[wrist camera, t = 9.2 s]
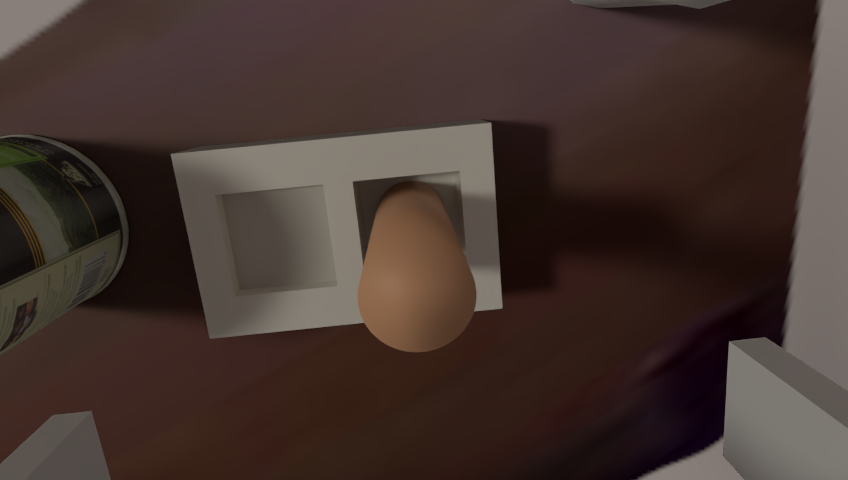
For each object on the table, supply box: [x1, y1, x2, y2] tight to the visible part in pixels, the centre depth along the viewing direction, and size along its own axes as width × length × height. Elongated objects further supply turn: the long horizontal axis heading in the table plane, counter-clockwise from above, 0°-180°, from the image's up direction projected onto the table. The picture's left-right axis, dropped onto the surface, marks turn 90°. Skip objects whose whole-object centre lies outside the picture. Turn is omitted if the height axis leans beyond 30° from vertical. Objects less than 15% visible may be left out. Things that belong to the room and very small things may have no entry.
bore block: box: [171, 119, 502, 339], centre depth 30 cm, size 16×10×4 cm, turn 95°
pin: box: [357, 181, 477, 352], centre depth 25 cm, size 4×4×14 cm
